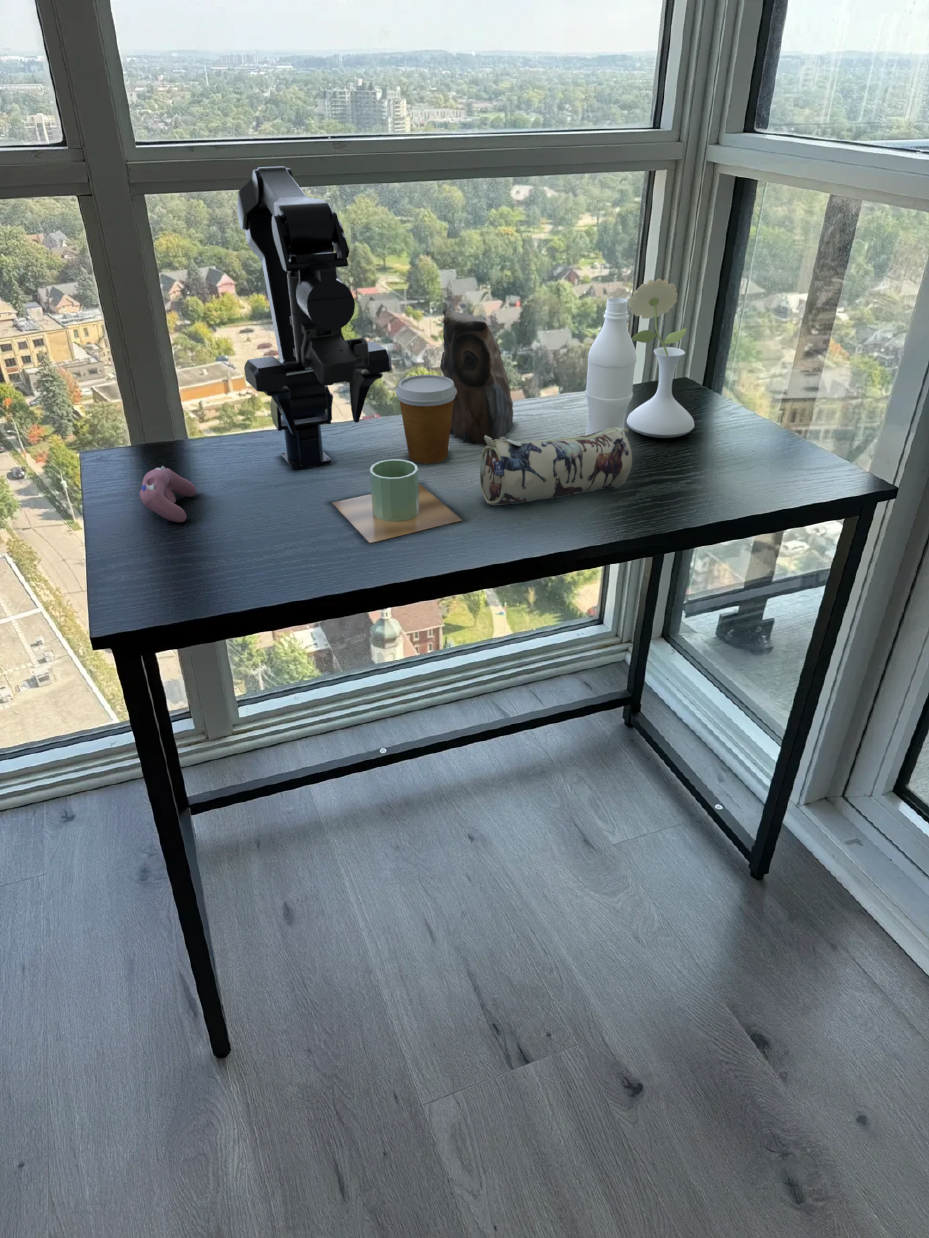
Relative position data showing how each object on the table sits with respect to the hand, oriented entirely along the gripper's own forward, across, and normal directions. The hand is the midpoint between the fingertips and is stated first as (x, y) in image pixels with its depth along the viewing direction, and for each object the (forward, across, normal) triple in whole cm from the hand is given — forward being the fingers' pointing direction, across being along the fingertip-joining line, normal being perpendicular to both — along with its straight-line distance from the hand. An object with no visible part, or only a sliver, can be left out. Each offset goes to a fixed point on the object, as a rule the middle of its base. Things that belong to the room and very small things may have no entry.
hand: (325, 427), depth 119 cm
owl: (+12, +33, +14) cm, 38 cm away
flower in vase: (+12, +59, 0) cm, 60 cm away
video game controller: (+12, -21, +9) cm, 26 cm away
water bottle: (+12, +43, -7) cm, 45 cm away
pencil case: (+12, +30, -13) cm, 35 cm away
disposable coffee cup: (+12, +20, +9) cm, 25 cm away
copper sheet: (+12, +7, -7) cm, 15 cm away
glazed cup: (+11, +7, -7) cm, 15 cm away
